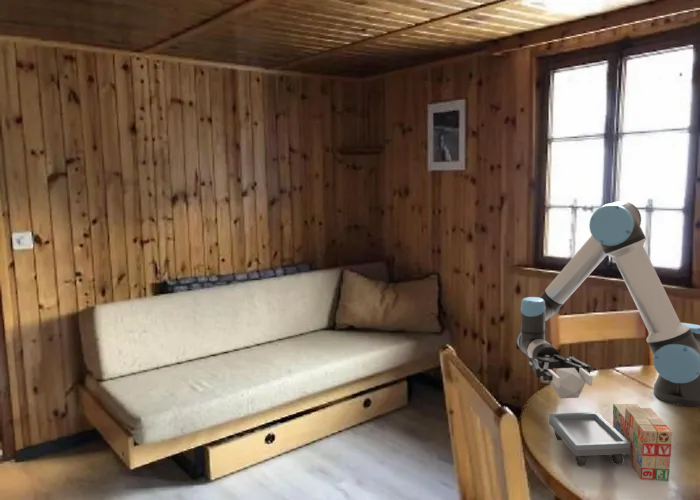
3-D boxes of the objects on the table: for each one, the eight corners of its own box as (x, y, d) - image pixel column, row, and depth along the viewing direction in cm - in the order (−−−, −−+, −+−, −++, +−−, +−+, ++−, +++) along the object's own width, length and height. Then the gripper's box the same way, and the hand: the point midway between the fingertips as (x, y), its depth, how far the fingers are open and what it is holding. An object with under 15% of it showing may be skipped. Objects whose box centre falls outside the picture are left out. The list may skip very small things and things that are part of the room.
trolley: (596, 433, 150) (597, 412, 149) (629, 467, 133) (630, 443, 132) (548, 435, 149) (549, 413, 148) (575, 469, 132) (576, 445, 132)
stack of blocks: (611, 435, 148) (613, 392, 147) (636, 436, 148) (638, 393, 146) (640, 480, 128) (643, 430, 126) (669, 481, 127) (672, 431, 125)
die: (580, 407, 150) (594, 375, 152) (551, 391, 151) (566, 359, 153) (569, 405, 158) (582, 375, 160) (541, 390, 159) (555, 360, 161)
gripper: (576, 364, 174) (612, 392, 152) (510, 367, 174) (536, 396, 151) (577, 341, 173) (613, 366, 151) (510, 344, 173) (536, 370, 150)
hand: (574, 381), depth 151 cm, fingers closed on die, 8 cm apart
